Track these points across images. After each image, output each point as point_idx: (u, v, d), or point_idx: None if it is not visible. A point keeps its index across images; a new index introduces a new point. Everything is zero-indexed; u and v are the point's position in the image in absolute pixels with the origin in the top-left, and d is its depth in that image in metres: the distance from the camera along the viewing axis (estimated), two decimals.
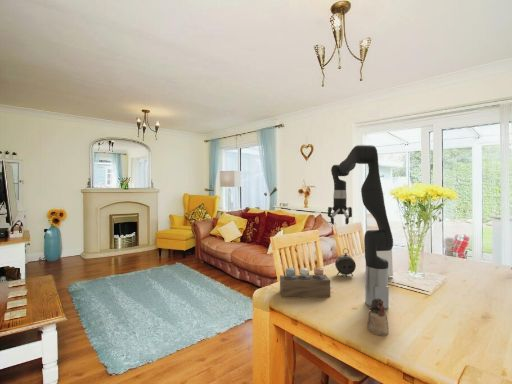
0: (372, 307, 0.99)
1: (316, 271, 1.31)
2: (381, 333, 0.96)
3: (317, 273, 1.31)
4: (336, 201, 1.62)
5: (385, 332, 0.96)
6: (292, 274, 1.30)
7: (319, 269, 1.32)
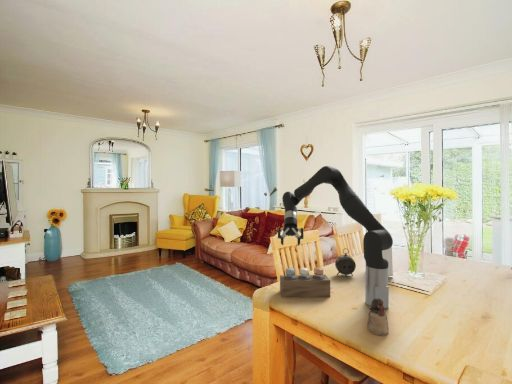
0: (372, 307, 0.99)
1: (316, 271, 1.31)
2: (381, 333, 0.96)
3: (317, 273, 1.31)
4: (285, 220, 1.53)
5: (385, 332, 0.96)
6: (292, 274, 1.30)
7: (319, 269, 1.32)
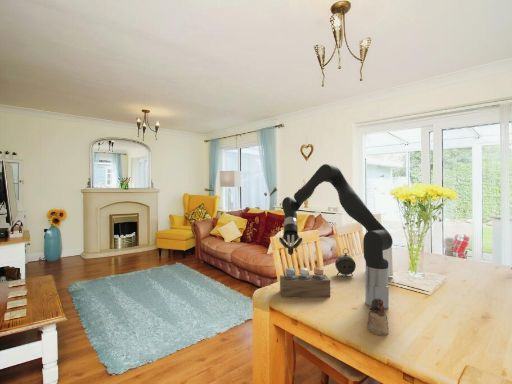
0: (372, 307, 0.99)
1: (316, 271, 1.31)
2: (381, 333, 0.96)
3: (317, 273, 1.31)
4: (285, 227, 1.49)
5: (385, 332, 0.96)
6: (292, 274, 1.30)
7: (319, 269, 1.32)
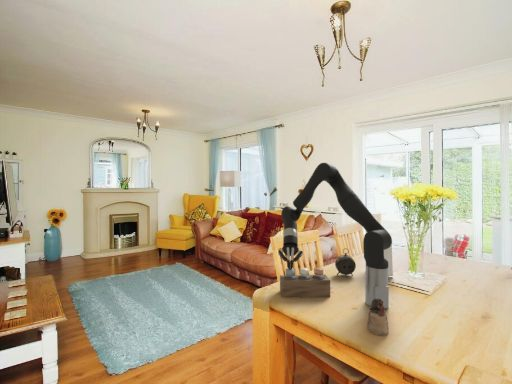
0: (372, 307, 0.99)
1: (316, 271, 1.31)
2: (381, 333, 0.96)
3: (317, 273, 1.31)
4: (284, 239, 1.41)
5: (385, 332, 0.96)
6: (292, 274, 1.30)
7: (319, 269, 1.32)
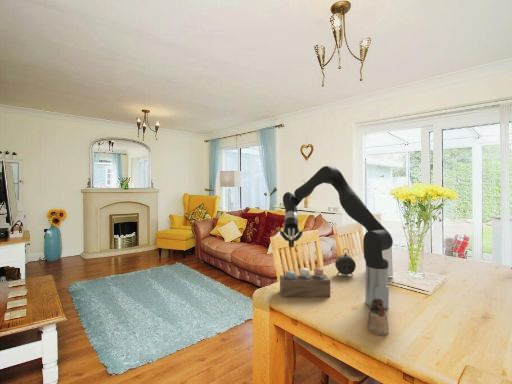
0: (372, 307, 0.99)
1: (316, 271, 1.31)
2: (381, 333, 0.96)
3: (317, 273, 1.31)
4: (286, 221, 1.53)
5: (385, 332, 0.96)
6: (292, 277, 1.30)
7: (319, 269, 1.32)
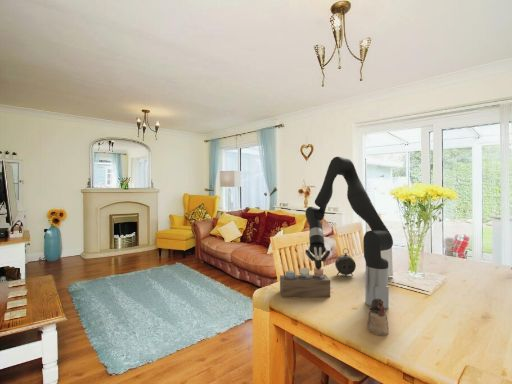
0: (372, 307, 0.99)
1: (316, 271, 1.31)
2: (381, 333, 0.96)
3: (317, 273, 1.31)
4: (311, 239, 1.41)
5: (385, 332, 0.96)
6: (292, 277, 1.30)
7: (319, 269, 1.32)
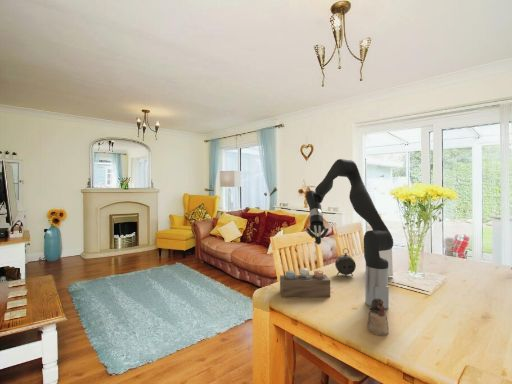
0: (372, 307, 0.99)
1: (316, 274, 1.31)
2: (381, 333, 0.96)
3: (317, 276, 1.31)
4: (311, 218, 1.54)
5: (385, 332, 0.96)
6: (292, 277, 1.30)
7: (319, 272, 1.32)
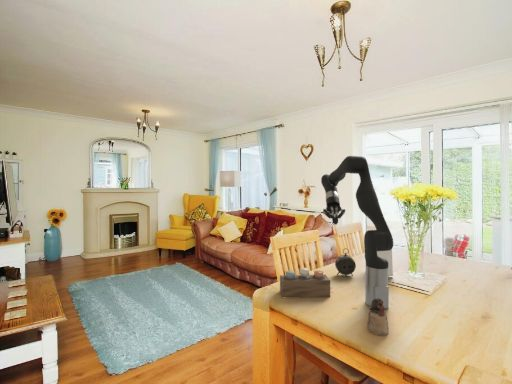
0: (372, 307, 0.99)
1: (316, 274, 1.31)
2: (381, 333, 0.96)
3: (317, 276, 1.31)
4: (328, 200, 1.58)
5: (385, 332, 0.96)
6: (292, 277, 1.30)
7: (319, 272, 1.32)
